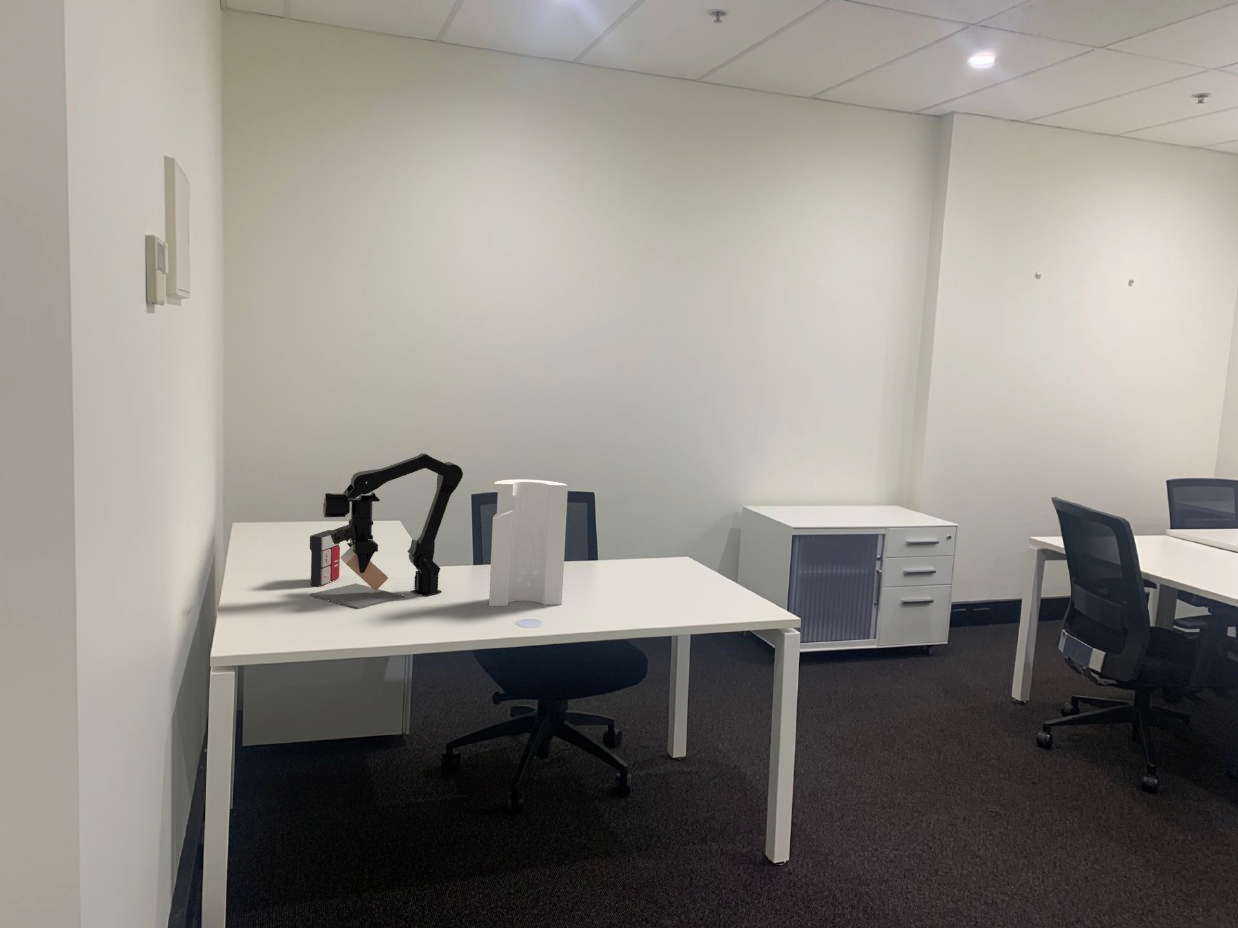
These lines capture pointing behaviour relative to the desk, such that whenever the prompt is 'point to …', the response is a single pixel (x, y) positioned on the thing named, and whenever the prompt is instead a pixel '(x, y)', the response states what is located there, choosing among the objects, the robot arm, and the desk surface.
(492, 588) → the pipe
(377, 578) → the peach block
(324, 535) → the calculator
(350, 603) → the grey mat
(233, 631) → the desk surface
